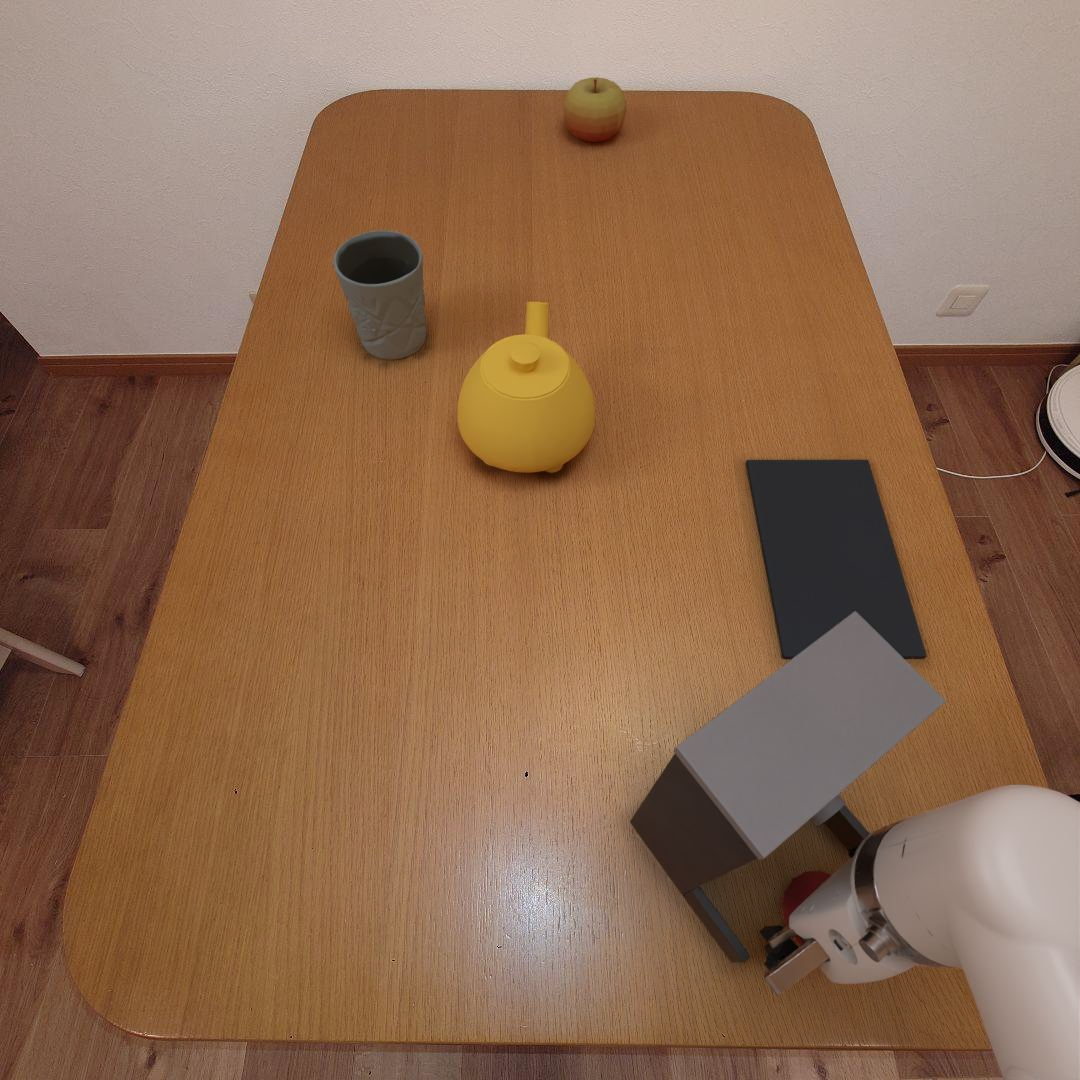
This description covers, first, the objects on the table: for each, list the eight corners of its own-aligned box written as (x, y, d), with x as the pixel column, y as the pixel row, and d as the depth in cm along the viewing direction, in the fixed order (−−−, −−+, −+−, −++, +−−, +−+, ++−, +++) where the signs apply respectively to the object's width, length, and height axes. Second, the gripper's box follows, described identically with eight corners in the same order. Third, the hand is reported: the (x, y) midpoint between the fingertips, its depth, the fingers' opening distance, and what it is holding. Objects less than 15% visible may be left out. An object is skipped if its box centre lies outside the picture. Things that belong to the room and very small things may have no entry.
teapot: (480, 355, 91) (471, 264, 79) (602, 368, 90) (611, 278, 78) (448, 483, 81) (433, 400, 69) (585, 498, 80) (594, 417, 68)
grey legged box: (859, 847, 61) (1033, 785, 40) (730, 964, 57) (848, 964, 36) (752, 724, 67) (855, 610, 45) (627, 821, 62) (675, 746, 41)
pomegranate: (837, 966, 57) (878, 967, 50) (765, 940, 58) (795, 936, 51) (845, 890, 60) (885, 880, 53) (776, 865, 61) (807, 853, 54)
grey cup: (342, 352, 91) (317, 274, 81) (376, 300, 96) (357, 220, 86) (415, 371, 89) (399, 294, 79) (446, 318, 94) (435, 238, 84)
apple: (595, 110, 120) (598, 58, 113) (635, 135, 116) (641, 83, 109) (550, 131, 117) (551, 79, 110) (590, 158, 113) (594, 106, 106)
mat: (924, 658, 70) (927, 656, 70) (782, 658, 70) (784, 656, 70) (866, 462, 83) (868, 459, 82) (745, 462, 82) (746, 459, 82)
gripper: (873, 1065, 36) (774, 1032, 51) (1076, 854, 42) (932, 879, 56) (770, 928, 39) (704, 934, 54) (970, 747, 45) (861, 798, 59)
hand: (821, 906), depth 55 cm, fingers open, 9 cm apart
